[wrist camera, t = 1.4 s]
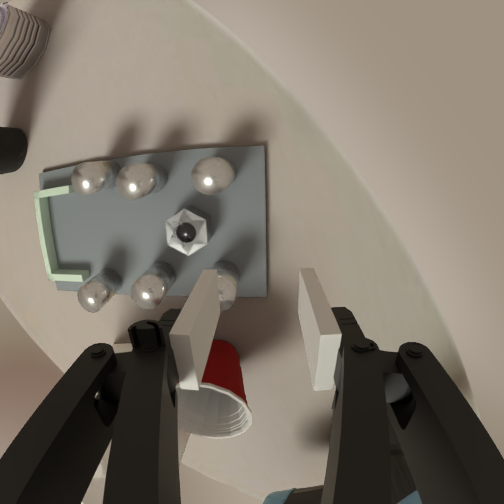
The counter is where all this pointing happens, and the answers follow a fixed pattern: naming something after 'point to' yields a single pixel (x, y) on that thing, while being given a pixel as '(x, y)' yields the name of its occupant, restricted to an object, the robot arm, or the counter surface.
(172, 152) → the board
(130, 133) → the counter surface
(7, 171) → the travel mug
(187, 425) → the plastic cup
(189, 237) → the nut
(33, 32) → the can
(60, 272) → the parts pocket
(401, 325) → the counter surface
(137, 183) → the spacers
